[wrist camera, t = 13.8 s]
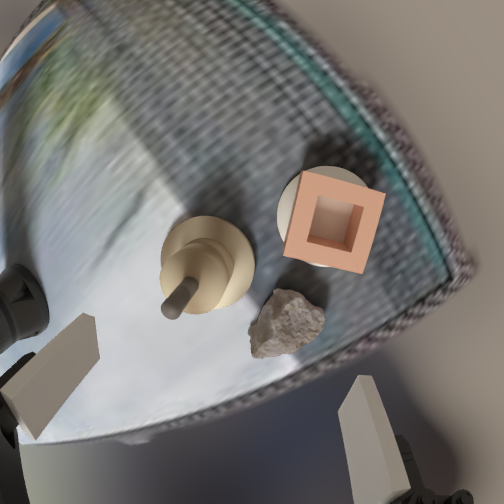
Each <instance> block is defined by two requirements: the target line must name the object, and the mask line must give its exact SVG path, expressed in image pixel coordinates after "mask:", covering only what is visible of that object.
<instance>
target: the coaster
mask: <svg viewBox="0 0 504 504" xmlns="http://www.w3.org/2000/svg"><path fill="white" fill-rule="evenodd" d="M306 171H307V172H311V173H315V174H319V175H323V176H327V177H331V178H334V179H338V180H341V181H345V182H349V183H352V184H355V185H359V186H362V187H365V188H368V187H367V186H366V184H365V183H364V182H363V181H362V180H361V179H360V178H359V177H358V176H356V175H355V174H353V173H352V172H350V171H348V170H345V169H343V168H339V167H335V166H319V167H315V168H311V169H308V170H306ZM299 176H300V174H299V175H298V176H296V177H295V178H294V179H293V180H292V181H291V182H290V183H289V184H288V185H287V187H286V188H285V190H284V191H283V193H282V196H281V198H280V201H279V204H278V210H277V223H278V229H279V232H280V235H281V238H282V240H283V241H284V240H285V236H286V232H287V228H288V224H289V219H290V215H291V211H292V207H293V202H294V198H295V194H296V189H297V185H298V181H299ZM353 207H354V204H351V203H348V202H344V201H341V200H337V199H333V198H329V197H325V196H322V195H318V198H317V202H316V206H315V211H314V215H313V219H312V223H311V227H310V230H309V234H308V235H312V236H316V237H321V238H325V239H329V240H333V241H337V242H341V243H344V240H345V237H346V233H347V230H348V226H349V222H350V218H351V215H352V211H353ZM302 261H304V260H302ZM304 262H307V263H309V264H312V265H315V266H321V267H330V266H326V265H322V264H317V263H313V262H309V261H304Z"/></svg>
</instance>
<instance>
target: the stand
mask: <svg viewBox="0 0 504 504" xmlns="http://www.w3.org/2000/svg"><path fill="white" fill-rule="evenodd" d="M161 267H162V269H161V272H160V285H161V289H162V291H163V294H164V295H165V297H166V300H165V301H164V302H163V304H162V305H161V311H162V313H163V315H164V316H165V317H166V318H168V319H172V320H174V319H177V318H178V317H179V316H180V314H181V313H182V312H186V313H189V314H203V313H206V312H209V311H211V310H212V309H219V308H224V307H227V306H229V305H232V304H233V303H235V302H237V301H238V300H239V299H240V298H242V297H243V295H244V294H245V293H246V292H247V290H248V289H249V287H250V285H251V282H252V279H253V276H254V271H255V257H254V253H253V249H252V247H251V244H250V242H249V241H248V239H247V237H246V236H245V235H244V233H243V232H242V231H241V230H240V229H239V228H238V227H236V226H235V225H234V224H232V223H231V222H229V221H227V220H225V219H222V218H219V217H216V216H196V217H193V218H190V219H188V220H185V221H184V222H182V223H180V224H179V225H177V226H176V227H175V228H174V229H173V230H172V231H171V232H170V233H169V234H168V236H167V238H166V239H165V242H164V244H163V247H162V252H161Z"/></svg>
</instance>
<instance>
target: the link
mask: <svg viewBox="0 0 504 504" xmlns="http://www.w3.org/2000/svg"><path fill="white" fill-rule="evenodd" d="M318 195H322V196H325V197H329V198H333V199H337V200H341V201H344V202H348V203H351V204H354V207H353V211H352V215H351V218H350V222H349V226H348V230H347V233H346V237H345V240H344V243H341V242H337V241H333V240H329V239H325V238H321V237H316V236H312V235H308V234H309V230H310V227H311V223H312V219H313V215H314V211H315V206H316V202H317V198H318ZM384 199H385V193H381V192H378V191H375V190H372V189H369V188H365V187H362V186H359V185H355V184H352V183H349V182H345V181H341V180H338V179H334V178H331V177H327V176H323V175H319V174H315V173H311V172H307V171H301V172H300V176H299V181H298V185H297V189H296V194H295V198H294V202H293V207H292V211H291V215H290V219H289V224H288V228H287V232H286V236H285V240H284V244H283V256H287V257H291V258H295V259H300V260H304V261H309V262H313V263H317V264H322V265H326V266H330V267H335V268H339V269H343V270H347V271H352V272H356V273H360V274H363V271H364V268H365V265H366V261H367V258H368V255H369V252H370V249H371V246H372V242H373V239H374V235H375V232H376V229H377V225H378V221H379V218H380V214H381V210H382V206H383V202H384Z"/></svg>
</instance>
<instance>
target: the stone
mask: <svg viewBox="0 0 504 504" xmlns="http://www.w3.org/2000/svg"><path fill="white" fill-rule="evenodd" d="M325 319H326V317H325V314H324V311H323V309H322V308H321V307H316V306H314V305H312V304H311V303H310V302H309V301H308V300H306V299H305V297H304V296H303V295H302V294H300V293H299V292H294V291H293V290H283V289H280V288H277V289H274V293H273V295H272V296H271V297H270V299H269V300H268V301H267V302H266V304H265V305H264V306H263V308H262V311H261V313H260V315H259V317H258V321H257V322H256V324H254V325H253V326H251V327H249V330H248V335H249V336H250V337H251V339H250V343H251V353H252V357H254V358H259V359H263V358H264V357H275V356H278V355H279V356H280V355H281V354H293V353H294V352H295V351H297V350H298V349H300V348H301V347H302V346H303V345H304V344H306V343H310V342H312V341H313V340H314V339H315V338H316V336H317V335H319V333H320V332H321V331H322V330H323V328H324V325H325Z"/></svg>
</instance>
